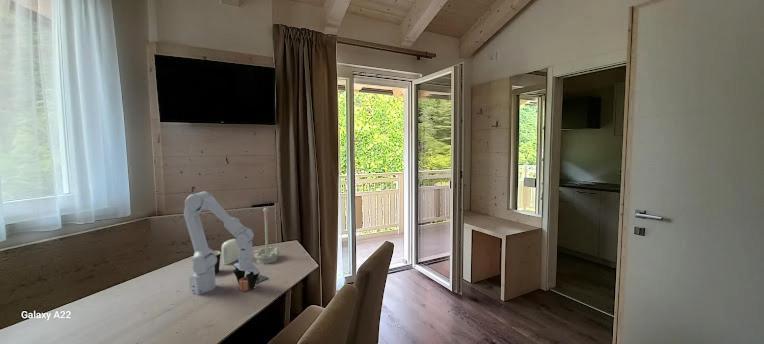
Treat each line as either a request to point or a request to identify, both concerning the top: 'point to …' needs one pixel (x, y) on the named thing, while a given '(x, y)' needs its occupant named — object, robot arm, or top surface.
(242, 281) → the ring
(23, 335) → the top surface
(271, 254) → the flag stand
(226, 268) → the top surface
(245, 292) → the stand
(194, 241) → the robot arm
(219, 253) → the coffee mug
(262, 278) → the square peg base
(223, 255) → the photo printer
